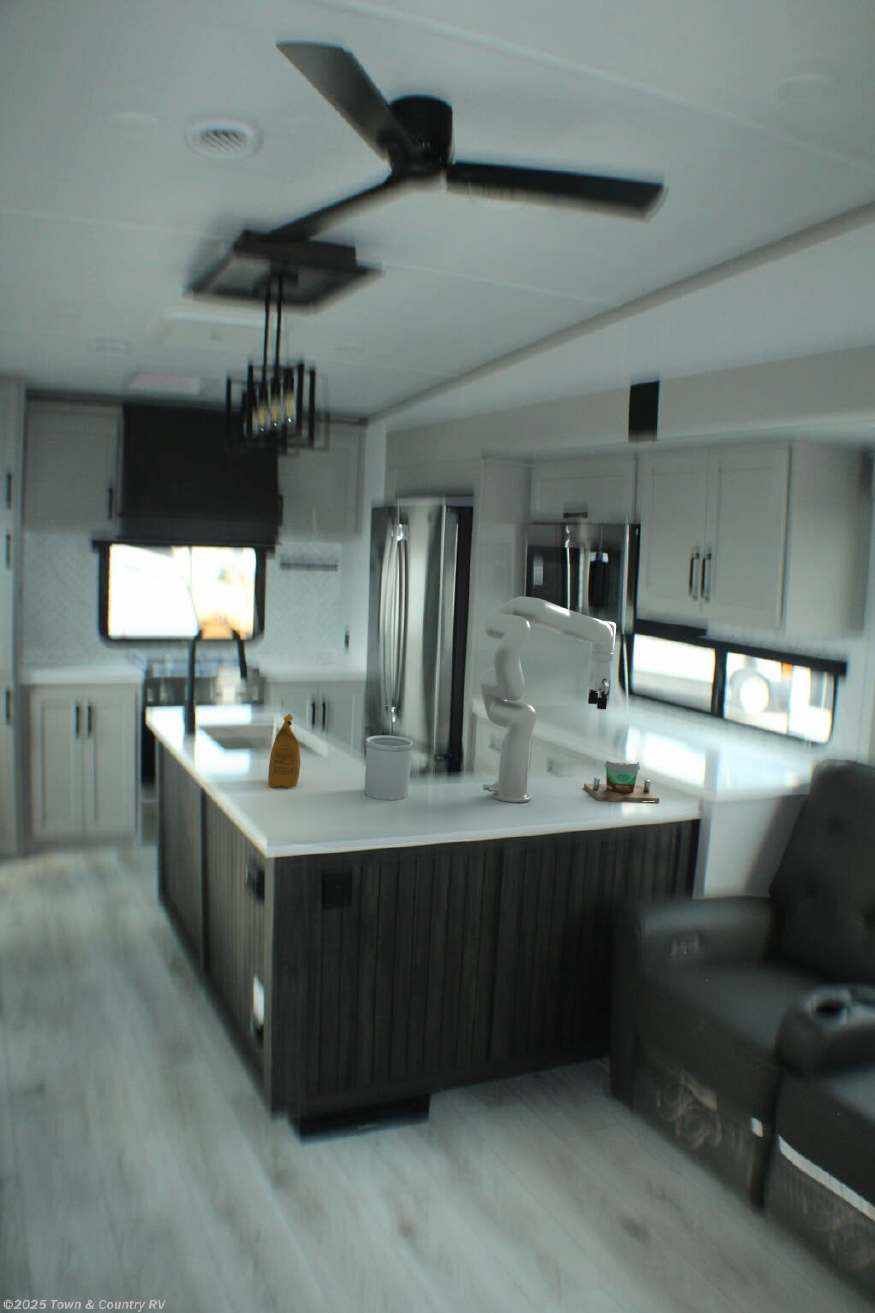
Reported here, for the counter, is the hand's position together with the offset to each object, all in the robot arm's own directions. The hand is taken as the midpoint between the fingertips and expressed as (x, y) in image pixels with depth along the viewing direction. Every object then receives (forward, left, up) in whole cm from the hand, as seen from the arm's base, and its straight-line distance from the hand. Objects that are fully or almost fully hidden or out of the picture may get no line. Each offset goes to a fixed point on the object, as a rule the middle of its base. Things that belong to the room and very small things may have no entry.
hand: (596, 706), depth 342 cm
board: (+8, -10, -28) cm, 31 cm away
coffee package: (-105, -11, -28) cm, 109 cm away
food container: (+8, -12, -27) cm, 30 cm away
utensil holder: (-73, -19, -28) cm, 81 cm away
